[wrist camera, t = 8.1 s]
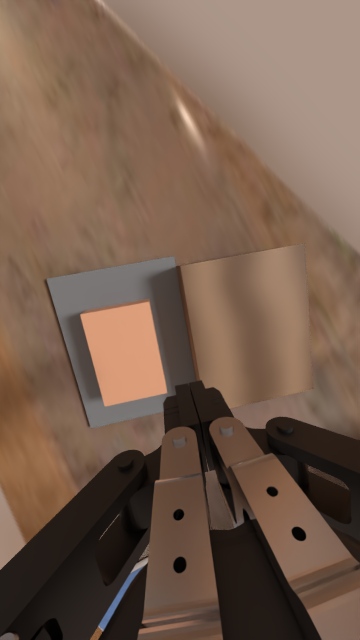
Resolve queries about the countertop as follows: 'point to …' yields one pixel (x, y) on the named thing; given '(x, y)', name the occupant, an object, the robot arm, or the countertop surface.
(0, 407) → the countertop surface
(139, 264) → the mat
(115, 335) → the orange rectangular block
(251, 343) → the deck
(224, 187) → the countertop surface
